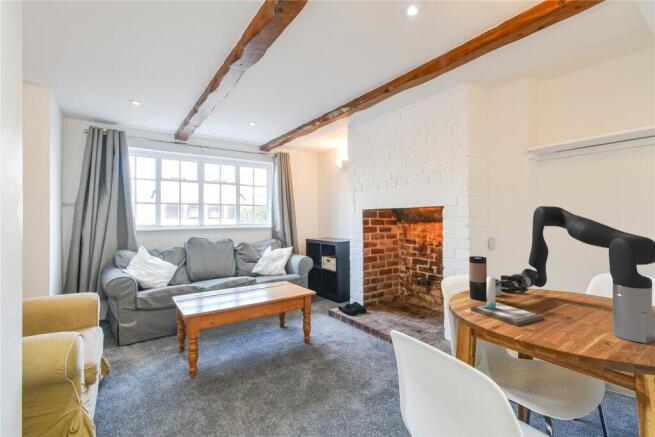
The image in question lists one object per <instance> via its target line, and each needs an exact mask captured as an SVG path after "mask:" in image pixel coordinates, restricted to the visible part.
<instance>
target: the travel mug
mask: <svg viewBox="0 0 655 437" xmlns="http://www.w3.org/2000/svg"><path fill="white" fill-rule="evenodd" d="M468 263H469V264H468V265H469V267H468V275H469V276H468V277H469V278H468V284H469V298H470V300H474V301H487V295H486V293H487V277H488V275H487V274H488V272H487V271H488V270H487V267H488V265H487V257H485V256H478V255H476V256H475V255H474V256H469V260H468Z"/></svg>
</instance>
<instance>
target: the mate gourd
mask: <svg viewBox="0 0 655 437" xmlns="http://www.w3.org/2000/svg"><path fill="white" fill-rule="evenodd" d="M515 274H516V273H513V274H512V275H515ZM509 276H510V275H508V274H507V275H506V274H505V275H504V274H503V275H500V280H506V278H507V277H509ZM501 287H503V286H502V285H501ZM501 292H503V293H511V292H510V290H508V289H501Z"/></svg>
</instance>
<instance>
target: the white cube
mask: <svg viewBox="0 0 655 437" xmlns="http://www.w3.org/2000/svg"><path fill="white" fill-rule="evenodd" d="M496 286H498V285H496ZM501 292H502V291H501V289H500V288H498V287H496V288H495V293H496V297H499V296H501V295H502V294H501ZM486 296H487V293H486Z"/></svg>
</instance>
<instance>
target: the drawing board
mask: <svg viewBox="0 0 655 437" xmlns="http://www.w3.org/2000/svg"><path fill="white" fill-rule="evenodd" d="M470 311H471V312H474V313H477V314H479V315H483V316H486V317H489V318H492V319H494V320H496V321H497V320H498V321H499V322H503V323H506V324H510V325H512V326H515V327H518V326H521V325H522V326H523V325H525V324H529V323H534V322H537V321H541V320H544V315H543V314H541V313H536V312H533V311H529V310H526V309H522V308H519V307H517V306H512V305H509V304H505V303H502V302H499V301H496V309H495V310H490V309H487V303H484V304H478V305H474V306H470Z"/></svg>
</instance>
